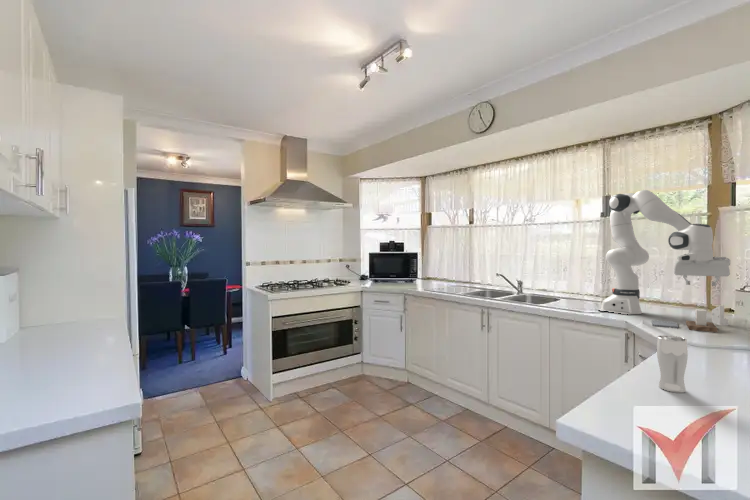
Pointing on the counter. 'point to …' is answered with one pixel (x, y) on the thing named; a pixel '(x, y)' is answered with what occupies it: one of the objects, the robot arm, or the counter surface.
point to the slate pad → (664, 324)
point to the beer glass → (672, 362)
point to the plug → (700, 317)
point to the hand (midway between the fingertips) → (700, 285)
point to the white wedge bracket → (719, 316)
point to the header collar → (701, 326)
